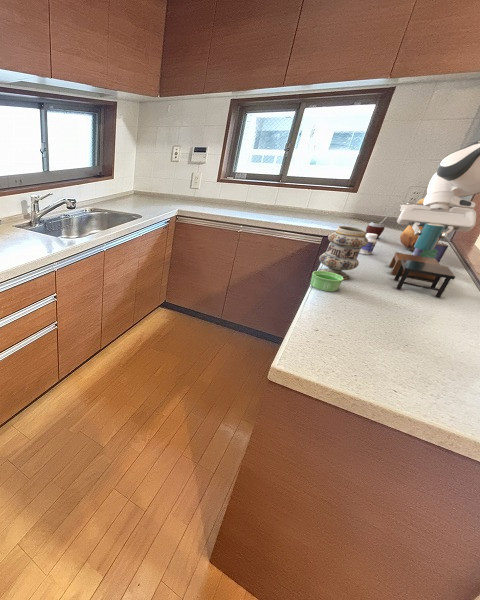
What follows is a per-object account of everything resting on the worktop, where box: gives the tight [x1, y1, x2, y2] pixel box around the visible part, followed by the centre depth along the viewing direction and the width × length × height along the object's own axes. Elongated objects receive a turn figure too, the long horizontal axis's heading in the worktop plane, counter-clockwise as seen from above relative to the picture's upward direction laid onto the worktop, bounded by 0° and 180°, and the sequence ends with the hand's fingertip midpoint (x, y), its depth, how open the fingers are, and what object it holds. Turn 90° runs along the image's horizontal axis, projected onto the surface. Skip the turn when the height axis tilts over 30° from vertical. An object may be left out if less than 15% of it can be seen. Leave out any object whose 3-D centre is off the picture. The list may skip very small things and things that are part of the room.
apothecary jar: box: [317, 225, 368, 280], centre depth 121 cm, size 12×12×18 cm
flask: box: [411, 241, 449, 264], centre depth 137 cm, size 9×3×11 cm, turn 58°
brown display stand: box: [388, 252, 441, 283], centre depth 126 cm, size 12×12×6 cm
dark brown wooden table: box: [393, 259, 456, 299], centre depth 113 cm, size 12×12×8 cm
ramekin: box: [310, 270, 345, 292], centre depth 113 cm, size 9×9×4 cm
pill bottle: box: [359, 233, 378, 255], centre depth 149 cm, size 5×5×9 cm
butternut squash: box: [399, 197, 441, 252], centre depth 150 cm, size 14×13×25 cm
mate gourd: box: [365, 211, 397, 240], centre depth 171 cm, size 8×8×15 cm
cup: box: [414, 223, 445, 250], centre depth 121 cm, size 5×5×9 cm
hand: (429, 236), depth 120 cm, fingers closed on cup, 5 cm apart
